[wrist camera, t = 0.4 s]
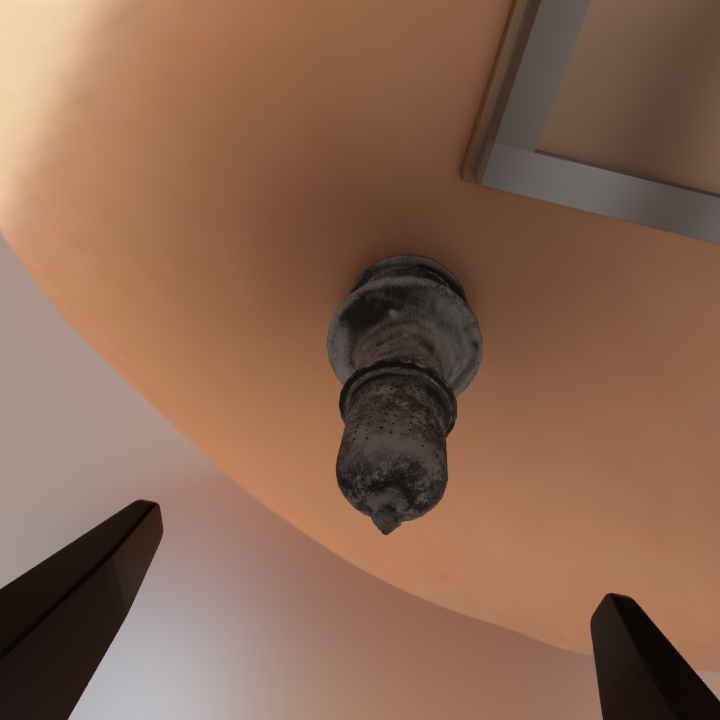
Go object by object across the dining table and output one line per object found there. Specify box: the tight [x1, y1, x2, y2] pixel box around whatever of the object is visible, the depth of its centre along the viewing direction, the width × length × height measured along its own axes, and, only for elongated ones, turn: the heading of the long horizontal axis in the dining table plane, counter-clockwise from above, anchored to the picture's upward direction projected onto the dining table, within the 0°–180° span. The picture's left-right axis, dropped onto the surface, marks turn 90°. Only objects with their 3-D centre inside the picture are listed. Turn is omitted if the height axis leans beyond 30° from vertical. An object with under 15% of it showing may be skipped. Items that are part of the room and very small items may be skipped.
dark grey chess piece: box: [327, 254, 482, 535], centre depth 15 cm, size 6×6×12 cm
